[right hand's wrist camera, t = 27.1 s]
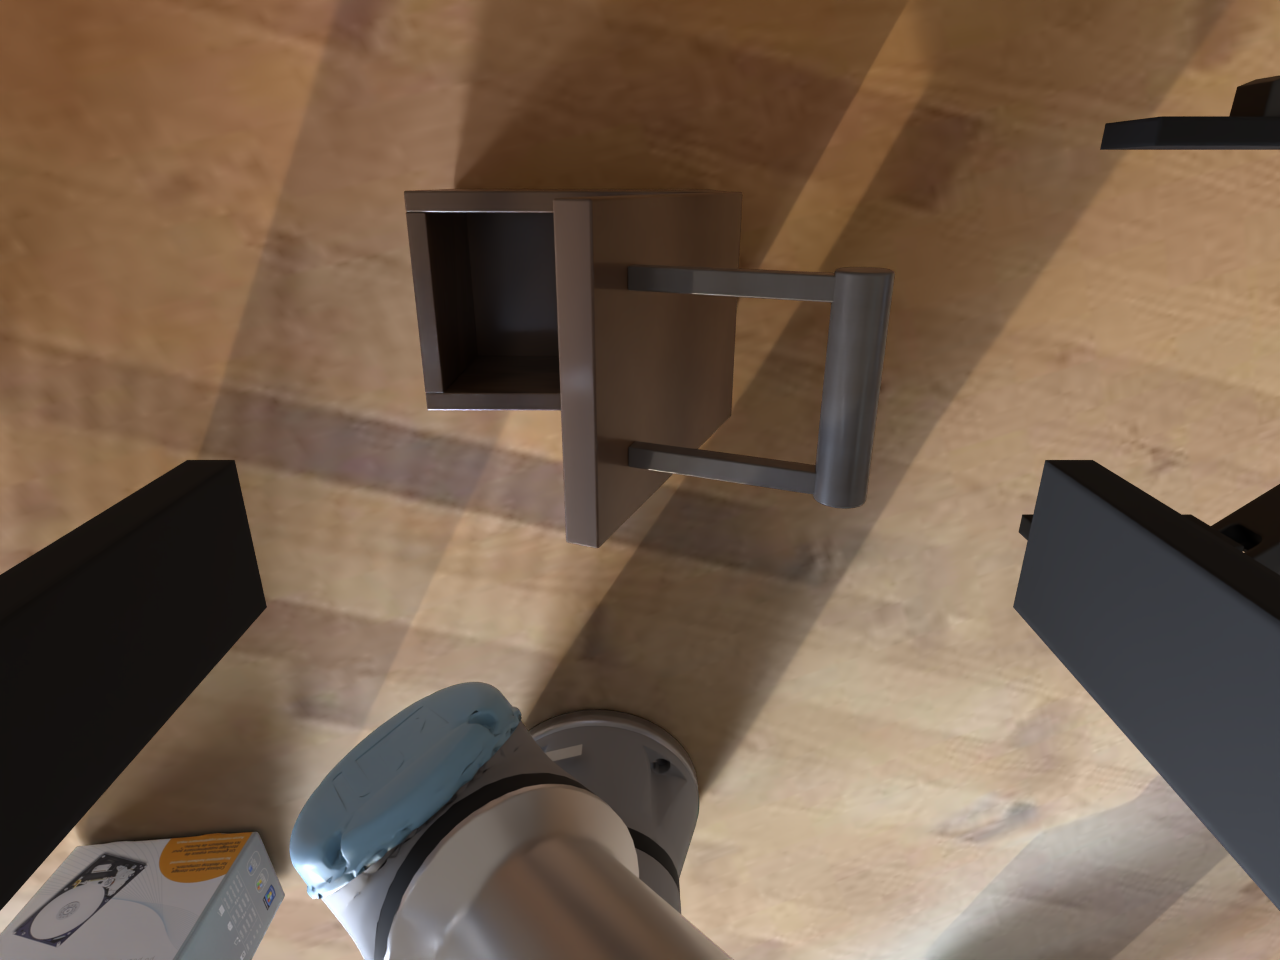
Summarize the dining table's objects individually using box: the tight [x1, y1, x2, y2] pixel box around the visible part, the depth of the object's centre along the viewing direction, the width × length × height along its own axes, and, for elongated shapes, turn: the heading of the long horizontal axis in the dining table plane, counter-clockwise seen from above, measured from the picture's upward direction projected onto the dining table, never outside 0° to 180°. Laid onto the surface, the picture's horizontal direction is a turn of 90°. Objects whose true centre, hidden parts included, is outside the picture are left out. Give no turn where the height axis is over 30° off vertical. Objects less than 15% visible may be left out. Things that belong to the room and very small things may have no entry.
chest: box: [404, 189, 724, 410], centre depth 39 cm, size 14×10×9 cm
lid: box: [553, 192, 895, 548], centre depth 26 cm, size 15×10×9 cm
